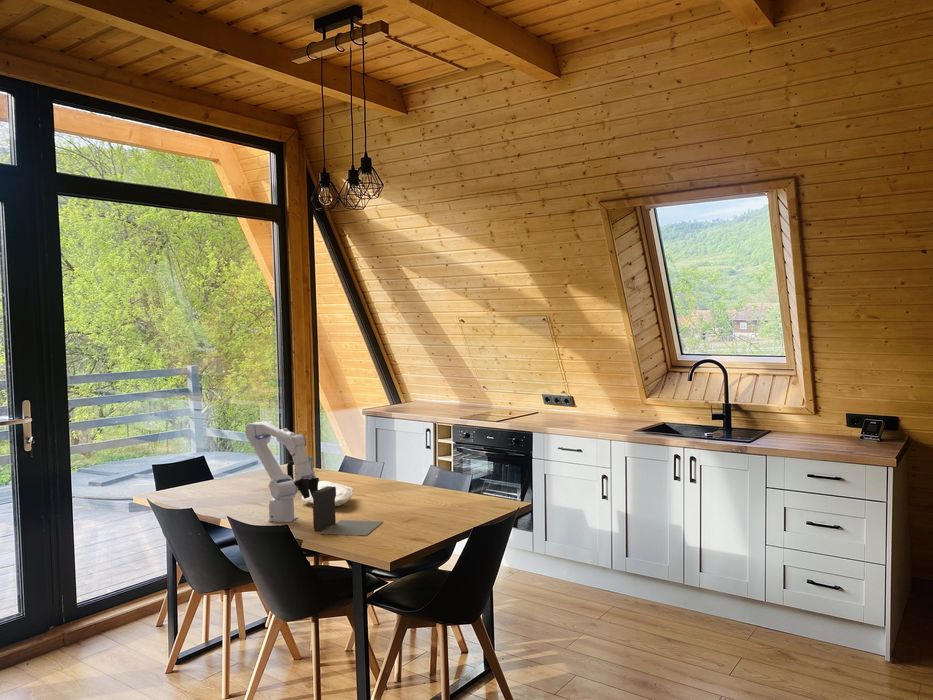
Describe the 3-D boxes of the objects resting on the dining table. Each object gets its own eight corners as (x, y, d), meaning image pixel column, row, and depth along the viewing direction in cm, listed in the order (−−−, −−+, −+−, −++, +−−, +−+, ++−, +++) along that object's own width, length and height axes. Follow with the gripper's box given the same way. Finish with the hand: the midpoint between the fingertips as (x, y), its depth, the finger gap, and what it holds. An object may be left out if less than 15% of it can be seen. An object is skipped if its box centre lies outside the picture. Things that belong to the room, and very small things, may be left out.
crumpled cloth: (339, 489, 350) (335, 471, 349) (375, 502, 322) (371, 481, 321) (293, 505, 337) (289, 486, 336) (326, 519, 309) (322, 498, 308)
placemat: (320, 534, 278) (320, 533, 278) (340, 520, 298) (340, 520, 298) (366, 536, 274) (366, 535, 274) (383, 522, 294) (383, 521, 294)
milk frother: (316, 485, 368) (315, 456, 368) (309, 492, 352) (308, 461, 352) (288, 486, 368) (287, 456, 368) (279, 493, 353) (278, 462, 352)
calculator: (327, 523, 294) (326, 485, 294) (337, 524, 293) (336, 486, 292) (312, 530, 284) (311, 491, 284) (321, 531, 282) (320, 492, 282)
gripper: (302, 460, 285) (312, 494, 282) (318, 461, 299) (328, 493, 296) (286, 466, 287) (296, 500, 284) (303, 466, 301) (312, 499, 298)
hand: (311, 497), depth 290 cm, fingers open, 7 cm apart
